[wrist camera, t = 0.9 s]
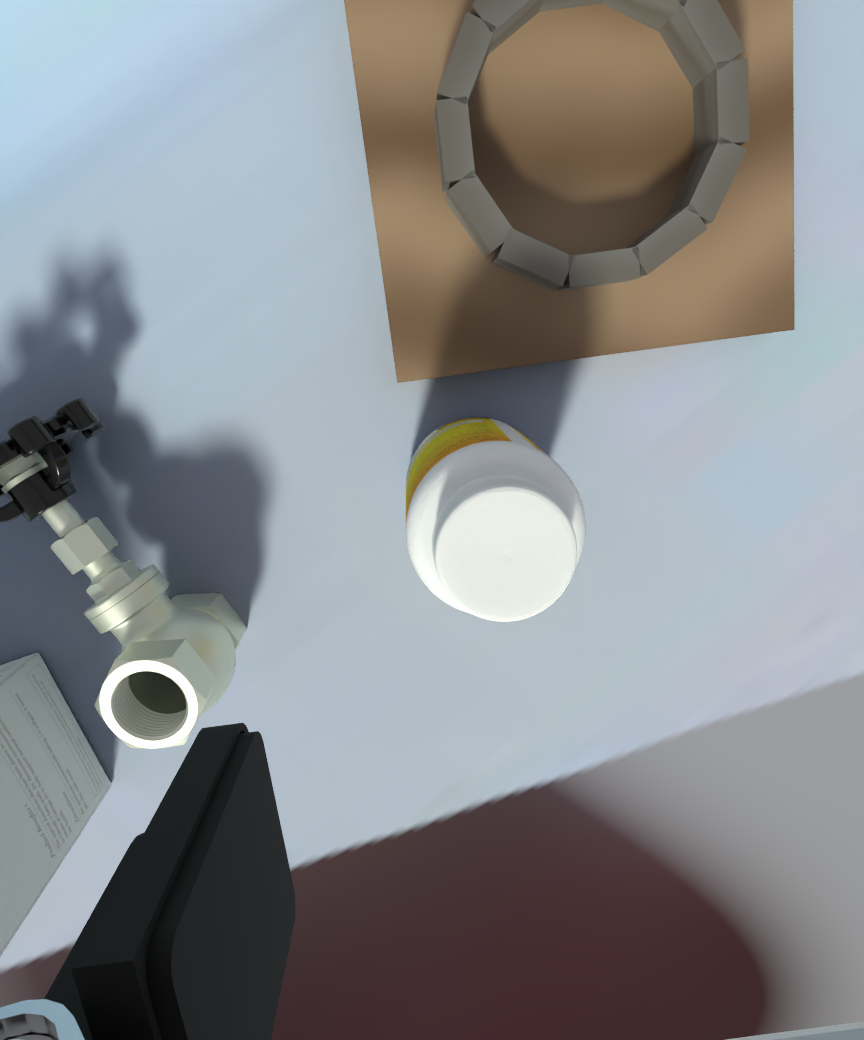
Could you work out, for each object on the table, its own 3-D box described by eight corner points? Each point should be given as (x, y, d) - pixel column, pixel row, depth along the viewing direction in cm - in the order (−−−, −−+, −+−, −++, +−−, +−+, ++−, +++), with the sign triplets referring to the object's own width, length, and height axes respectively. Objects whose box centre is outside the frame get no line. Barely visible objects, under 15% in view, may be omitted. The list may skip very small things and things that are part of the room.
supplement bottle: (384, 515, 30) (371, 604, 20) (440, 392, 29) (457, 419, 19) (505, 568, 30) (551, 678, 20) (564, 449, 29) (643, 505, 19)
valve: (294, 628, 31) (118, 390, 28) (264, 703, 24) (31, 405, 22) (171, 704, 32) (-12, 480, 29) (111, 796, 25) (-132, 520, 23)
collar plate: (337, -60, 25) (325, -123, 21) (769, -118, 25) (827, -192, 21) (398, 380, 28) (396, 386, 25) (774, 330, 28) (824, 328, 25)
